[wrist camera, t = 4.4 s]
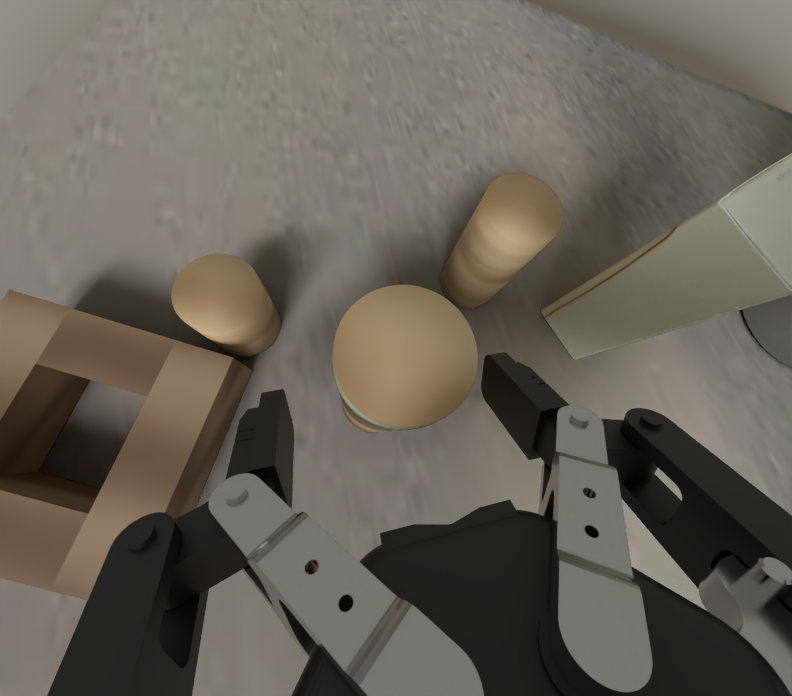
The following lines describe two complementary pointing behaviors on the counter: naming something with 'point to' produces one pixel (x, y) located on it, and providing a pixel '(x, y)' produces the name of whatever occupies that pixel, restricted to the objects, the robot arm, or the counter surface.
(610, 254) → the counter surface
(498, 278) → the medium pin
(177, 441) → the socket block
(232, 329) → the short pin
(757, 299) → the skincare box
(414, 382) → the tall pin
